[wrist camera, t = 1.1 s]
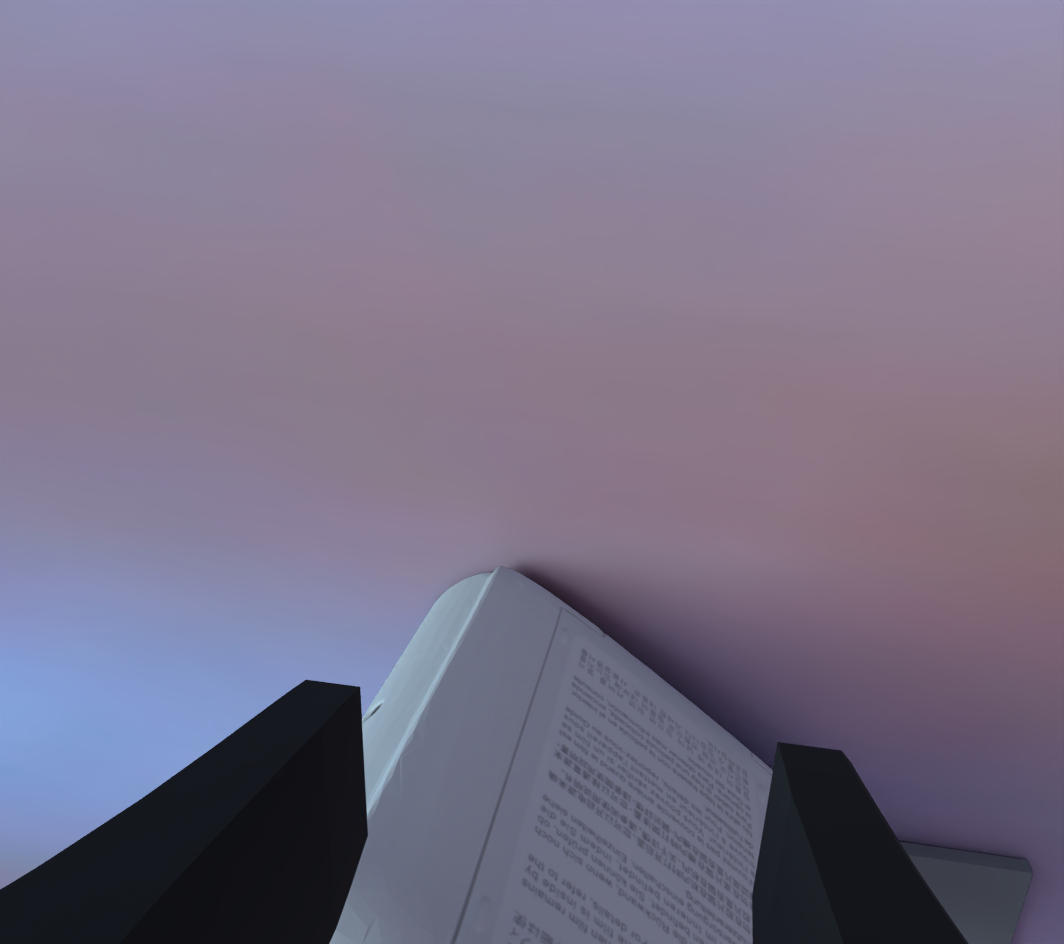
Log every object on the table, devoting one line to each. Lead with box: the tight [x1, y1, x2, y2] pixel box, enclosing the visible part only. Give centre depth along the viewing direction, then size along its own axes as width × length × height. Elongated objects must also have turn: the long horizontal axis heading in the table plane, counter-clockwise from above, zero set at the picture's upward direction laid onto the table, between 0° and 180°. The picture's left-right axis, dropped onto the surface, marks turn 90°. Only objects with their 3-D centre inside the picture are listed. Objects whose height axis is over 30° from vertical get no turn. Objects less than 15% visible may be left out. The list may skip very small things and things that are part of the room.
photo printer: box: [329, 566, 773, 944], centre depth 16 cm, size 10×4×12 cm, turn 53°
